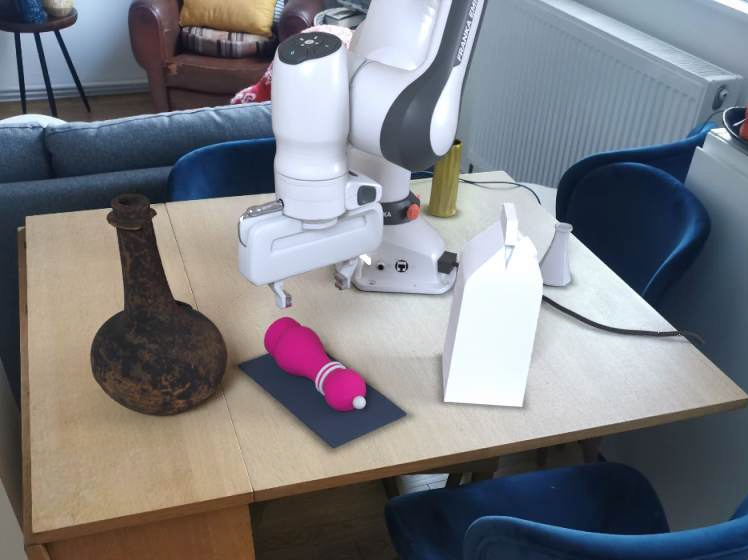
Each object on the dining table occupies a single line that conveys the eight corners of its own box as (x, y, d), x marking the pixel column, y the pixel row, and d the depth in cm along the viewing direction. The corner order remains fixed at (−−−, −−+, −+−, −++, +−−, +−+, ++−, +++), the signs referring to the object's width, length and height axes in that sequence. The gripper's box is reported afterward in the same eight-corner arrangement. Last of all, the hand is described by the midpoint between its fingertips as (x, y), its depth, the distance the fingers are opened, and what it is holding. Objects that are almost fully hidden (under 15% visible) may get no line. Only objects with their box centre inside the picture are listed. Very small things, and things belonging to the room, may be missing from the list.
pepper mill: (279, 364, 117) (359, 435, 107) (251, 344, 111) (333, 417, 101) (308, 327, 116) (391, 394, 106) (282, 304, 110) (367, 374, 100)
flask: (528, 281, 140) (539, 229, 133) (537, 266, 145) (548, 214, 138) (566, 291, 138) (579, 238, 132) (574, 274, 143) (587, 223, 136)
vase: (425, 215, 159) (432, 144, 149) (429, 204, 164) (436, 134, 154) (454, 219, 159) (463, 147, 149) (457, 208, 163) (466, 137, 153)
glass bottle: (248, 373, 113) (233, 182, 94) (200, 445, 100) (172, 241, 81) (136, 353, 115) (100, 162, 96) (76, 420, 102) (20, 216, 83)
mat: (238, 366, 114) (237, 364, 114) (308, 341, 121) (308, 338, 120) (333, 448, 101) (333, 446, 101) (406, 415, 108) (406, 412, 108)
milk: (442, 357, 120) (464, 190, 102) (514, 362, 120) (549, 196, 102) (444, 401, 111) (468, 228, 93) (522, 406, 111) (561, 234, 93)
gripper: (250, 220, 85) (258, 329, 94) (393, 184, 94) (387, 286, 104) (222, 200, 88) (233, 308, 98) (362, 168, 98) (359, 268, 107)
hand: (313, 296), depth 101 cm, fingers open, 8 cm apart
